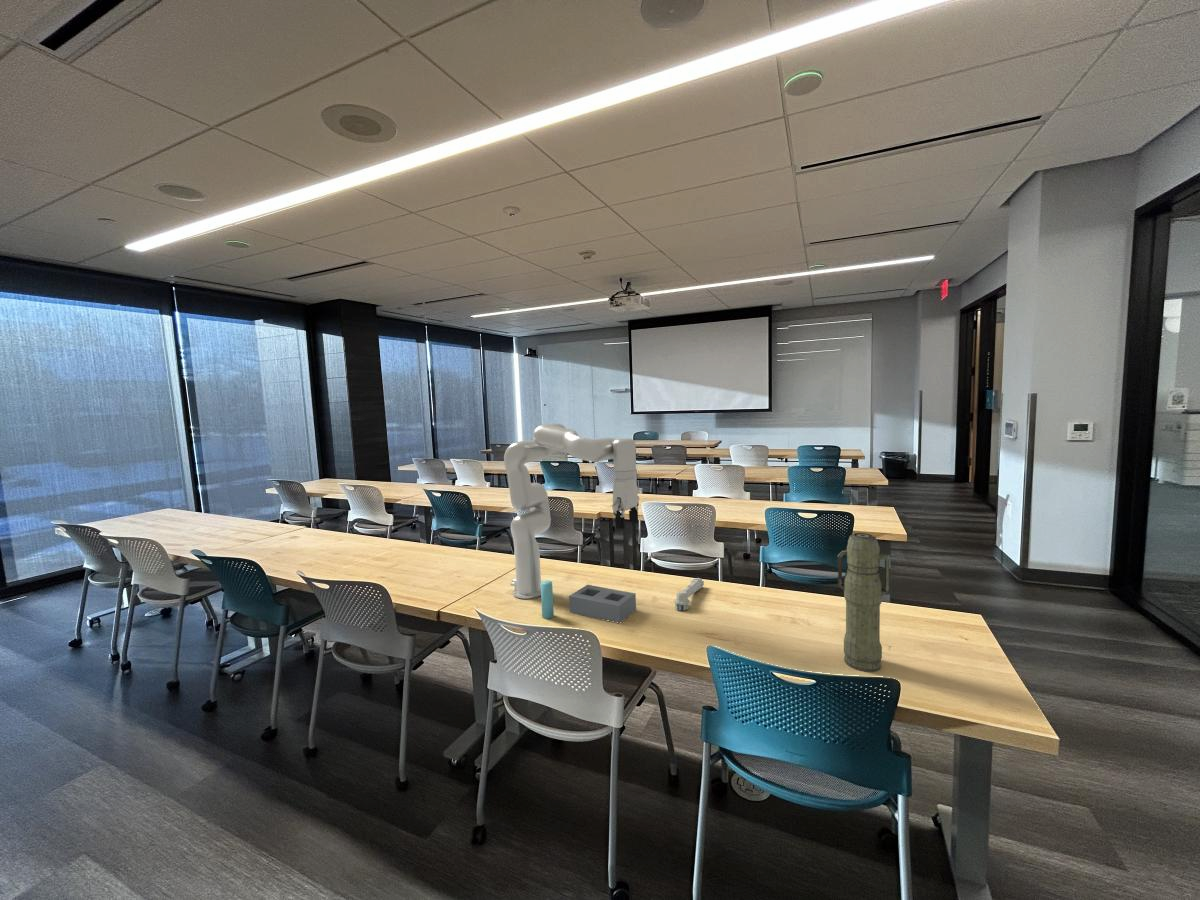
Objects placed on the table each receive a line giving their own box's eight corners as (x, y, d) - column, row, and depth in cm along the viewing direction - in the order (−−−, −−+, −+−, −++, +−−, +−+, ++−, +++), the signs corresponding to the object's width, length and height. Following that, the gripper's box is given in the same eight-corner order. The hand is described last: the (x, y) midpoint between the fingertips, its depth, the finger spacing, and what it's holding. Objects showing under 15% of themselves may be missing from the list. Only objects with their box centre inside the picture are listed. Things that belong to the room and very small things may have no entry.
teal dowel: (539, 617, 166) (538, 583, 165) (547, 613, 169) (545, 580, 168) (549, 619, 164) (547, 585, 163) (556, 615, 167) (554, 581, 166)
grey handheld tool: (705, 578, 187) (686, 592, 165) (705, 595, 187) (686, 611, 165) (692, 576, 190) (672, 589, 167) (692, 593, 189) (671, 609, 167)
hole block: (569, 612, 169) (569, 595, 169) (588, 600, 179) (587, 584, 179) (619, 623, 159) (618, 606, 158) (636, 610, 169) (635, 593, 168)
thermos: (836, 651, 135) (836, 529, 132) (884, 658, 131) (885, 532, 128) (838, 667, 127) (838, 538, 124) (890, 675, 123) (891, 541, 120)
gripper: (627, 471, 171) (629, 519, 172) (602, 478, 156) (604, 530, 158) (646, 472, 167) (648, 520, 168) (622, 479, 152) (624, 532, 154)
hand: (627, 525), depth 163 cm, fingers open, 9 cm apart
